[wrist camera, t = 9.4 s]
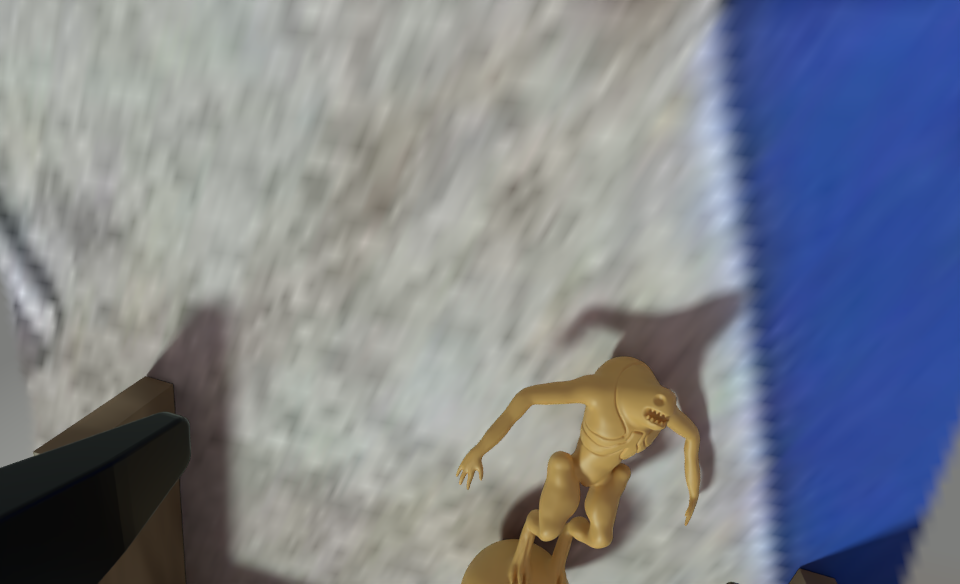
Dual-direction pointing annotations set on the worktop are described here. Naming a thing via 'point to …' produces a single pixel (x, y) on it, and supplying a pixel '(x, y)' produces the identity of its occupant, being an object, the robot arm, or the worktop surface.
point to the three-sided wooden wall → (175, 493)
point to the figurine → (582, 467)
